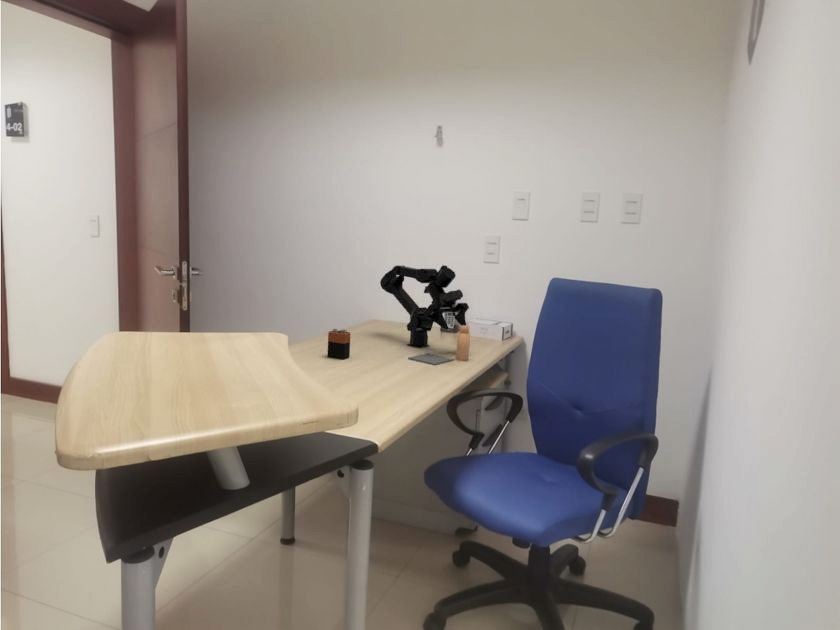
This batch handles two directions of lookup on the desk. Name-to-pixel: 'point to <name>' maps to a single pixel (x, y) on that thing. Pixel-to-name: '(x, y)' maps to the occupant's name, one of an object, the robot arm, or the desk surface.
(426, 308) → the robot arm
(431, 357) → the mat
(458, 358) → the peach capped bottle
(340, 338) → the battery
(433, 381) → the desk surface
